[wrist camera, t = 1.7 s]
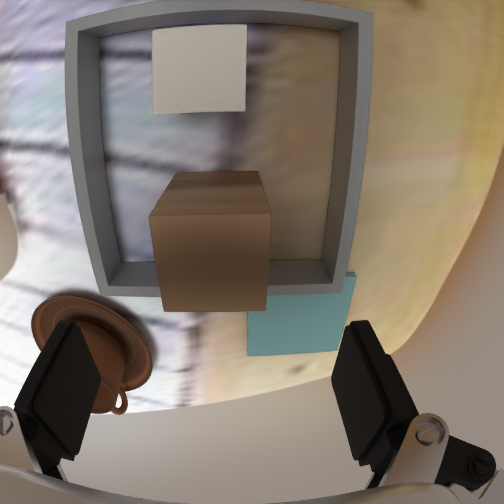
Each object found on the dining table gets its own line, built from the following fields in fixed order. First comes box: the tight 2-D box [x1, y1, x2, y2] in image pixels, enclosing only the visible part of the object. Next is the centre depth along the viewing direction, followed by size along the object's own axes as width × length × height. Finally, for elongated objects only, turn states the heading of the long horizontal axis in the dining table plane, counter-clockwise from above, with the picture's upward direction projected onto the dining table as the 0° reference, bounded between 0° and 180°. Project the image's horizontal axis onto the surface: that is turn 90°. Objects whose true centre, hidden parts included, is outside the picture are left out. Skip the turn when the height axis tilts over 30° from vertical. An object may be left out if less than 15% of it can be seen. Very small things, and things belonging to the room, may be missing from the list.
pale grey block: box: [152, 25, 247, 115], centre depth 13 cm, size 4×4×5 cm
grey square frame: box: [65, 0, 373, 297], centre depth 16 cm, size 17×16×3 cm
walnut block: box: [149, 171, 271, 312], centre depth 17 cm, size 5×5×7 cm
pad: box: [247, 272, 356, 356], centre depth 24 cm, size 8×8×1 cm
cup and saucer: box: [31, 296, 152, 415], centre depth 22 cm, size 12×12×6 cm
